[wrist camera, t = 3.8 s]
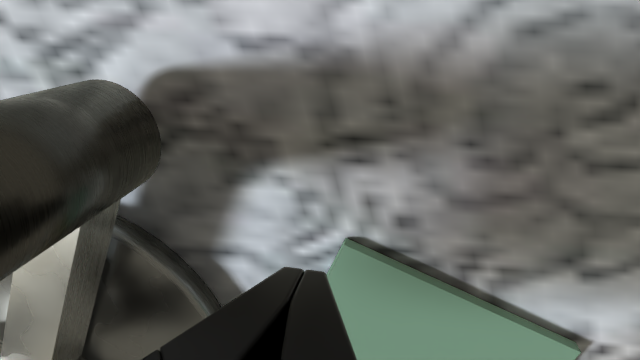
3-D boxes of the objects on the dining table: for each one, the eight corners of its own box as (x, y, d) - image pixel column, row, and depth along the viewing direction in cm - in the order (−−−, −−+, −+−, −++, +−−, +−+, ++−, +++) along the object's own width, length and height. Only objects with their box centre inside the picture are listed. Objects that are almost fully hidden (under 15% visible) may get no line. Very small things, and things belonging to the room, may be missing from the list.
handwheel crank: (125, 451, 15) (7, 645, 11) (-35, 378, 15) (-225, 541, 11) (236, 138, 10) (107, 240, 6) (2, 31, 10) (-314, 49, 6)
